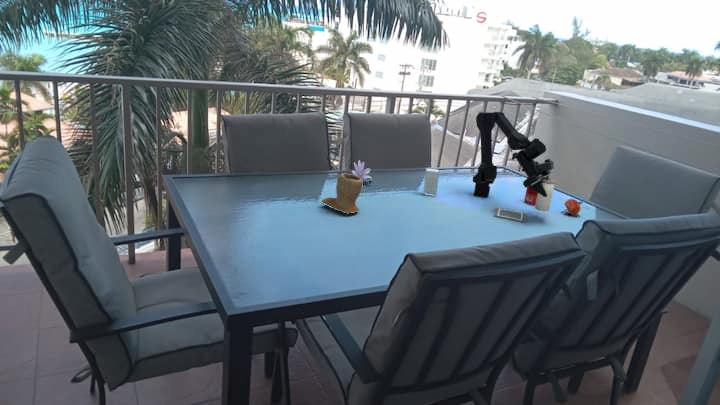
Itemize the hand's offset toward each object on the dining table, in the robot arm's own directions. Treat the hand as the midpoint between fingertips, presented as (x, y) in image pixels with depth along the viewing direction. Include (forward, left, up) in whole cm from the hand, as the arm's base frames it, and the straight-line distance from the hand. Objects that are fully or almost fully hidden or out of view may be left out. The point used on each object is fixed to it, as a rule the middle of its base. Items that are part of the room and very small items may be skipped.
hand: (548, 195), depth 200 cm
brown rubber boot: (-78, -34, -12) cm, 86 cm away
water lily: (-83, +4, -12) cm, 84 cm away
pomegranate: (+12, +16, -12) cm, 23 cm away
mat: (-13, -2, -11) cm, 18 cm away
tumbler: (-1, 0, -7) cm, 7 cm away
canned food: (-4, +23, -12) cm, 27 cm away
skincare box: (-50, +6, -12) cm, 52 cm away
